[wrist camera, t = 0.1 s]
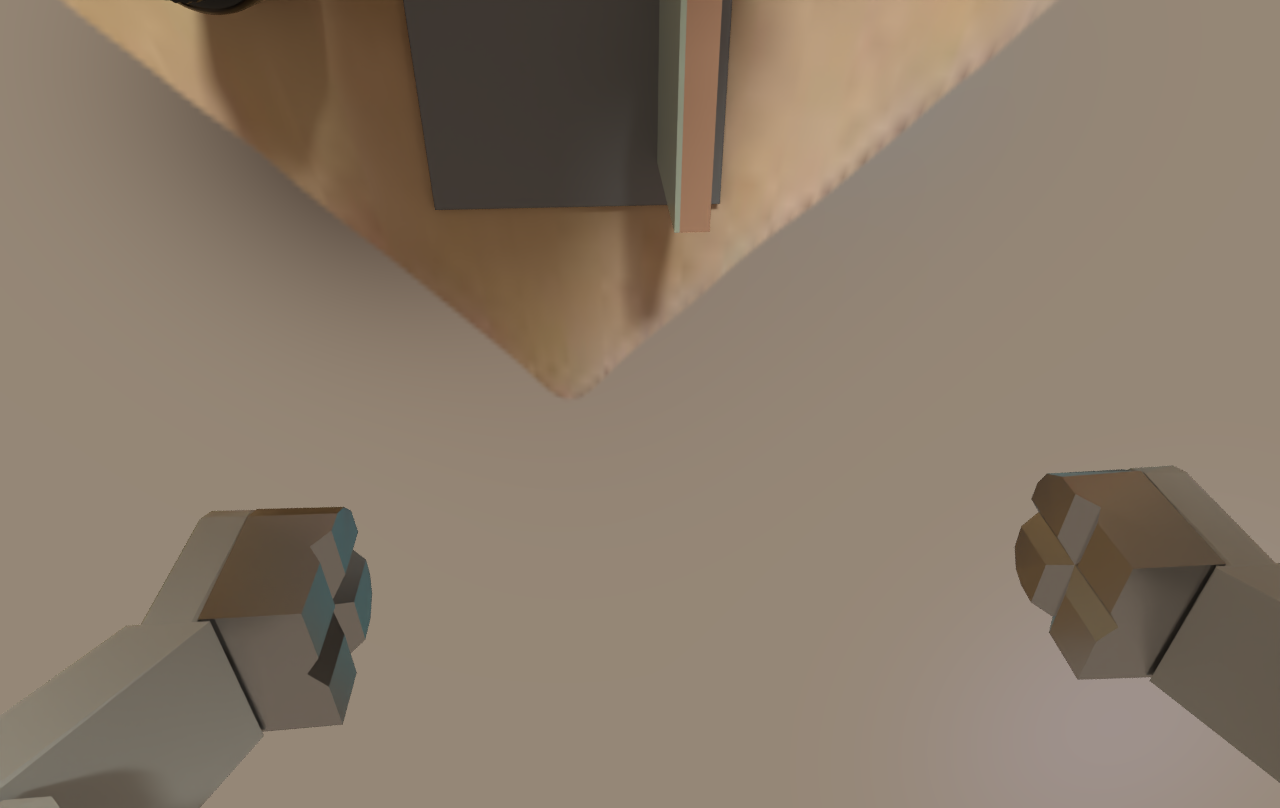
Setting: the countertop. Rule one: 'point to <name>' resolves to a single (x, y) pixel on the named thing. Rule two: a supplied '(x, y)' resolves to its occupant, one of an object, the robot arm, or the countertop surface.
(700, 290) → the countertop surface
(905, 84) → the countertop surface
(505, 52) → the mat
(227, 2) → the supplement bottle
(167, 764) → the robot arm
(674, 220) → the tile
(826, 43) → the countertop surface
